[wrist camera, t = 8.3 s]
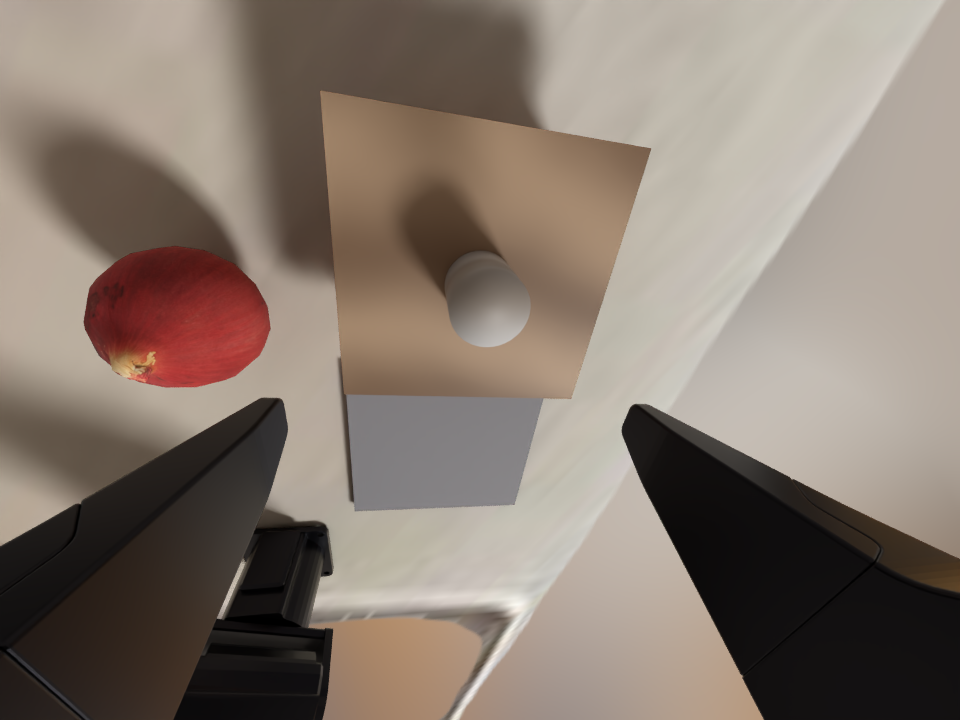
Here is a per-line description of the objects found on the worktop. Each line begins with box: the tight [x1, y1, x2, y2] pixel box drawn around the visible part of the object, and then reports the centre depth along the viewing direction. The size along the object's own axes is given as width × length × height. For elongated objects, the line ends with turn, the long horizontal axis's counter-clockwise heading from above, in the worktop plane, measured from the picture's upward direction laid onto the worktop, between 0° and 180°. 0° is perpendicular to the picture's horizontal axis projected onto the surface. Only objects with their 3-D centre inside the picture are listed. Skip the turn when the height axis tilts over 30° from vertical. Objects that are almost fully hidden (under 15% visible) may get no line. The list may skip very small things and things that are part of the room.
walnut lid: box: [320, 90, 651, 399], centre depth 13 cm, size 11×11×4 cm
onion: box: [84, 246, 271, 387], centre depth 15 cm, size 6×6×8 cm
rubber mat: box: [346, 395, 543, 511], centre depth 25 cm, size 13×13×1 cm
